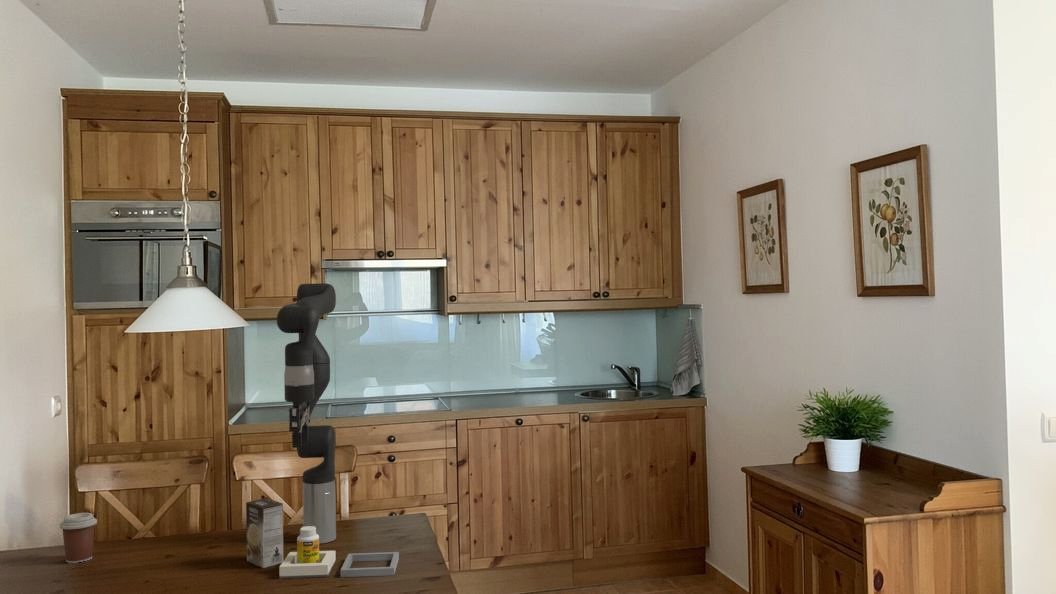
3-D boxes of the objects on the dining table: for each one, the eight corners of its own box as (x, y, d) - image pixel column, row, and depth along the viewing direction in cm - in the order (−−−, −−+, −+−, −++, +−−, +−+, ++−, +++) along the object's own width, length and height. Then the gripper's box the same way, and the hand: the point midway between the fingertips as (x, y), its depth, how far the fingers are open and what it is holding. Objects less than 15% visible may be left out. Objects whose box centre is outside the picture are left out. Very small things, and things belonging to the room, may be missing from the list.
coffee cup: (52, 562, 224) (51, 518, 224) (84, 552, 232) (83, 510, 232) (73, 567, 220) (73, 522, 220) (105, 557, 228) (104, 513, 228)
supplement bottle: (301, 572, 211) (300, 532, 211) (294, 566, 216) (293, 527, 216) (322, 568, 214) (322, 528, 214) (315, 562, 219) (314, 523, 219)
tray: (348, 560, 222) (348, 553, 222) (398, 558, 223) (398, 551, 223) (340, 577, 209) (340, 570, 209) (394, 575, 209) (393, 568, 209)
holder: (290, 563, 220) (289, 552, 220) (335, 561, 221) (335, 550, 221) (279, 578, 208) (279, 566, 208) (327, 576, 209) (327, 565, 209)
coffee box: (245, 561, 222) (244, 501, 222) (267, 555, 227) (266, 497, 227) (263, 568, 216) (262, 507, 216) (285, 562, 221) (284, 502, 221)
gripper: (290, 379, 223) (291, 439, 223) (278, 386, 209) (279, 450, 209) (318, 379, 223) (319, 439, 224) (308, 385, 209) (309, 449, 209)
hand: (300, 444), depth 216 cm, fingers open, 8 cm apart
